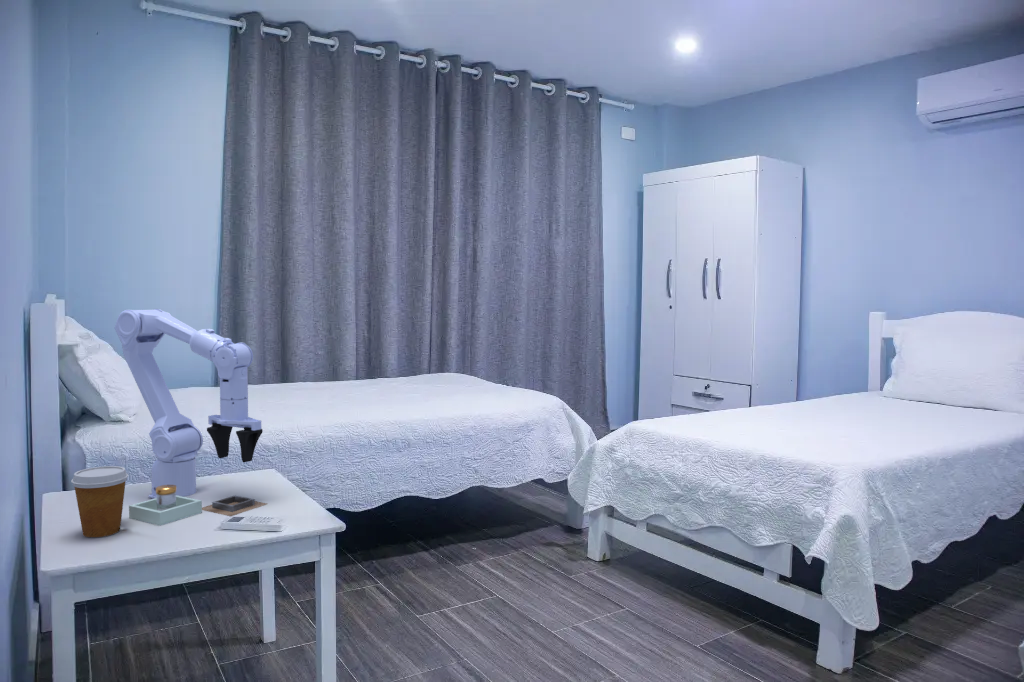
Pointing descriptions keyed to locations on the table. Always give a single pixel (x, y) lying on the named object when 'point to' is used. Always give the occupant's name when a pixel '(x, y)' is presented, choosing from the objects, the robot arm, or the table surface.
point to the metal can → (166, 497)
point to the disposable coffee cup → (100, 499)
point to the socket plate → (233, 505)
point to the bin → (165, 511)
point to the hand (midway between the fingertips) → (235, 459)
